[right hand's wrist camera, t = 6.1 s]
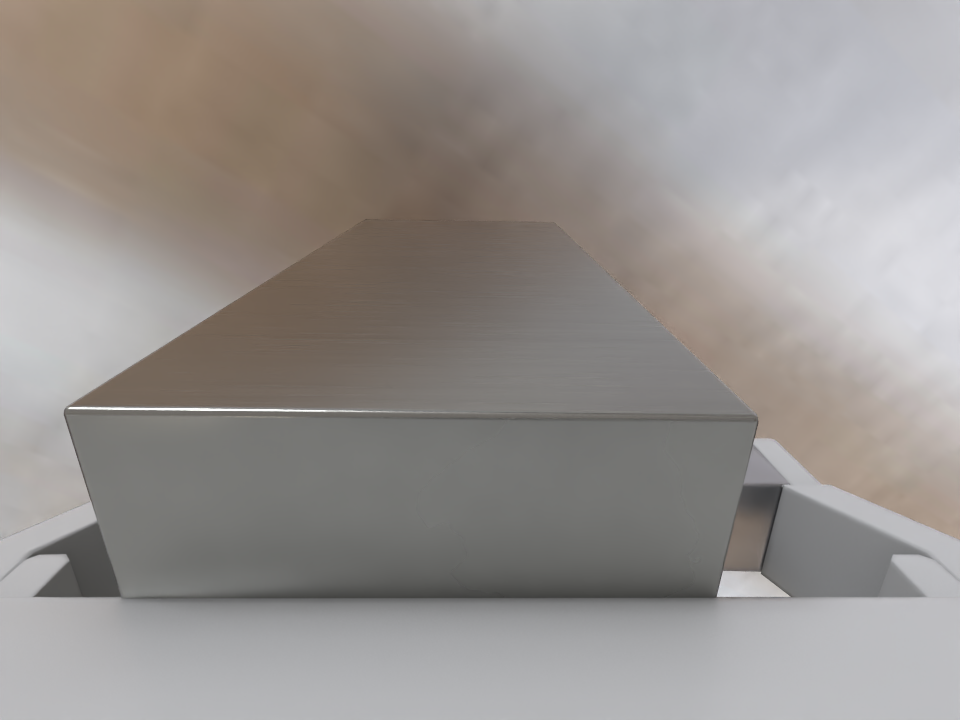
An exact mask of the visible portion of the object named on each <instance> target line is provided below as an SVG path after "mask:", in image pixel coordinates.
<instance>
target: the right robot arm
mask: <svg viewBox="0 0 960 720" xmlns="http://www.w3.org/2000/svg"><path fill="white" fill-rule="evenodd" d="M723 571H756V572H761V574H762V575H763V576H765V577H766V578H767V579H769V580H770V581H771V582H772V583H774V584H775V585H776V586H778V587H779V588H780V589H782V590H783V591H784V592H785V593H787V594H788V595H789V596H791V597H715V598H226V599H124V598H121V595H120V592H119V589H118V586H117V582H116V579H115V576H114V573H113V570H112V566H111V563H110V560H109V557H108V554H107V550H106V547H105V544H104V541H103V538H102V534H101V531H100V528H99V525H98V522H97V519H96V515H95V512H94V509H93V506H92V503H91V501H90V502H88V503H86V504H83V505H81V506H79V507H76V508H74V509H72V510H69V511H67V512H65V513H62V514H60V515H58V516H55V517H53V518H50V519H48V520H46V521H43V522H41V523H39V524H36V525H34V526H32V527H29V528H27V529H25V530H22V531H20V532H18V533H15V534H13V535H10V536H8V537H6V538H3V539H1V540H0V720H960V540H959V539H956V538H954V537H952V536H949V535H947V534H945V533H942V532H940V531H937V530H935V529H933V528H930V527H928V526H926V525H923V524H921V523H919V522H916V521H914V520H912V519H909V518H907V517H905V516H902V515H900V514H898V513H895V512H893V511H891V510H888V509H886V508H884V507H881V506H879V505H876V504H874V503H872V502H869V501H867V500H865V499H862V498H860V497H858V496H855V495H853V494H851V493H848V492H846V491H844V490H841V489H839V488H837V487H834V486H832V485H822V484H820V483H819V482H818V481H817V480H816V479H815V478H814V477H813V476H812V475H811V474H810V473H809V472H808V471H807V470H806V469H805V468H804V467H803V466H802V465H801V464H800V463H799V462H798V461H797V460H796V459H795V458H794V457H793V456H792V455H791V454H789V453H788V452H787V451H786V450H785V449H784V448H783V447H782V446H781V445H780V444H779V443H778V442H777V441H776V440H774V439H771V438H754V442H753V447H752V451H751V455H750V459H749V463H748V467H747V472H746V476H745V480H744V484H743V488H742V492H741V497H740V501H739V505H738V509H737V513H736V517H735V522H734V526H733V530H732V534H731V538H730V542H729V547H728V551H727V555H726V559H725V563H724V567H723Z"/></svg>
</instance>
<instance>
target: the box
mask: <svg viewBox="0 0 960 720" xmlns="http://www.w3.org/2000/svg"><path fill="white" fill-rule="evenodd" d="M64 416H65V420H66V423H67V426H68V429H69V432H70V436H71V439H72V442H73V445H74V448H75V452H76V455H77V458H78V461H79V464H80V468H81V471H82V474H83V477H84V480H85V483H86V487H87V490H88V493H89V496H90V499H91V503H92V506H93V509H94V512H95V515H96V519H97V522H98V525H99V528H100V531H101V534H102V538H103V541H104V544H105V547H106V550H107V554H108V557H109V560H110V563H111V566H112V570H113V573H114V576H115V579H116V582H117V586H118V589H119V592H120V595H121V598H124V599H226V598H715V597H717V592H718V588H719V584H720V580H721V576H722V572H723V567H724V563H725V559H726V555H727V551H728V547H729V542H730V538H731V534H732V530H733V526H734V522H735V517H736V513H737V509H738V505H739V501H740V497H741V492H742V488H743V484H744V480H745V476H746V472H747V467H748V463H749V459H750V455H751V451H752V447H753V442H754V438H755V434H756V430H757V426H758V417H757V414H756V413H754V412H753V411H752V410H751V409H750V408H749V407H748V406H747V405H746V404H745V403H744V402H743V401H742V400H741V399H740V398H739V397H738V396H737V395H736V394H734V393H733V392H732V391H731V390H730V389H729V388H728V387H727V386H726V385H725V384H724V383H723V382H722V381H721V380H720V379H719V378H718V377H717V376H716V375H714V374H713V373H712V372H711V371H710V370H709V369H708V368H707V367H706V366H705V365H704V364H703V363H702V362H701V361H700V360H699V359H698V358H697V357H696V356H694V355H693V354H692V353H691V352H690V351H689V350H688V349H687V348H686V347H685V346H684V345H683V344H682V343H681V342H680V341H679V340H678V339H677V338H676V337H674V336H673V335H672V334H671V333H670V332H669V331H668V330H667V329H666V328H665V327H664V326H663V325H662V324H661V323H660V322H659V321H658V320H657V319H656V318H654V317H653V316H652V315H651V314H650V313H649V312H648V311H647V310H646V309H645V308H644V307H643V306H642V305H641V304H640V303H639V302H638V301H637V300H636V299H634V298H633V297H632V296H631V295H630V294H629V293H628V292H627V291H626V290H625V289H624V288H623V287H622V286H621V285H620V284H619V283H618V282H617V281H616V280H614V279H613V278H612V277H611V276H610V275H609V274H608V273H607V272H606V271H605V270H604V269H603V268H602V267H601V266H600V265H599V264H598V263H597V262H596V261H594V260H593V259H592V258H591V257H590V256H589V255H588V254H587V253H586V252H585V251H584V250H583V249H582V248H581V247H580V246H579V245H578V244H577V243H576V242H574V241H573V240H572V239H571V238H570V237H569V236H568V235H567V234H566V233H565V232H564V231H563V230H562V229H561V228H560V227H559V226H558V225H557V224H556V223H554V222H511V221H445V220H379V219H365V220H364V221H362V222H360V223H359V224H357V225H356V226H354V227H352V228H351V229H349V230H348V231H346V232H344V233H343V234H341V235H340V236H338V237H336V238H335V239H333V240H332V241H330V242H328V243H327V244H325V245H324V246H322V247H320V248H319V249H317V250H316V251H314V252H312V253H311V254H309V255H308V256H306V257H305V258H303V259H301V260H300V261H298V262H297V263H295V264H293V265H292V266H290V267H289V268H287V269H285V270H284V271H282V272H281V273H279V274H277V275H276V276H274V277H273V278H271V279H269V280H268V281H266V282H265V283H263V284H261V285H260V286H258V287H257V288H255V289H253V290H252V291H250V292H249V293H247V294H245V295H244V296H242V297H241V298H239V299H238V300H236V301H234V302H233V303H231V304H230V305H228V306H226V307H225V308H223V309H222V310H220V311H218V312H217V313H215V314H214V315H212V316H210V317H209V318H207V319H206V320H204V321H202V322H201V323H199V324H198V325H196V326H194V327H193V328H191V329H190V330H188V331H186V332H185V333H183V334H182V335H180V336H178V337H177V338H175V339H174V340H172V341H170V342H169V343H167V344H166V345H164V346H163V347H161V348H159V349H158V350H156V351H155V352H153V353H151V354H150V355H148V356H147V357H145V358H143V359H142V360H140V361H139V362H137V363H135V364H134V365H132V366H131V367H129V368H127V369H126V370H124V371H123V372H121V373H119V374H118V375H116V376H115V377H113V378H111V379H110V380H108V381H107V382H105V383H103V384H102V385H100V386H99V387H97V388H96V389H94V390H92V391H91V392H89V393H88V394H86V395H84V396H83V397H81V398H80V399H78V400H76V401H75V402H73V403H72V404H70V405H68V406H67V407H66V408H65V410H64Z"/></svg>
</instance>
